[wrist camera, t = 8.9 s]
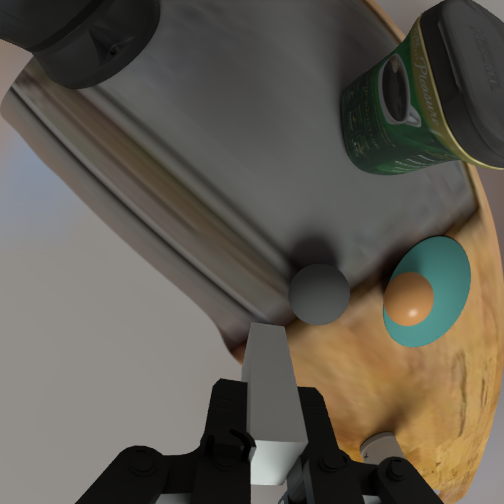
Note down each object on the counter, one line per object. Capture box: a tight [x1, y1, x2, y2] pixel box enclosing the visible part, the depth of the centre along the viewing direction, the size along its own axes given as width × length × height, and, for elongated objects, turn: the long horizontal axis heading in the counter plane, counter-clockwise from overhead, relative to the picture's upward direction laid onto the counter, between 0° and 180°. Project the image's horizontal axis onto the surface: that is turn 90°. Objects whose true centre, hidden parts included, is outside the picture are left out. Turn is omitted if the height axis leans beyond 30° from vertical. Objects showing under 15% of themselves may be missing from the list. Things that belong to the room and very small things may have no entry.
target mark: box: [383, 236, 471, 347], centre depth 26 cm, size 14×14×1 cm
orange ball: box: [384, 272, 434, 326], centre depth 24 cm, size 6×6×6 cm
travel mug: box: [360, 432, 406, 465], centre depth 23 cm, size 6×7×20 cm
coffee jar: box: [342, 0, 504, 175], centre depth 14 cm, size 10×8×19 cm
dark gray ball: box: [289, 263, 350, 325], centre depth 23 cm, size 6×6×6 cm
